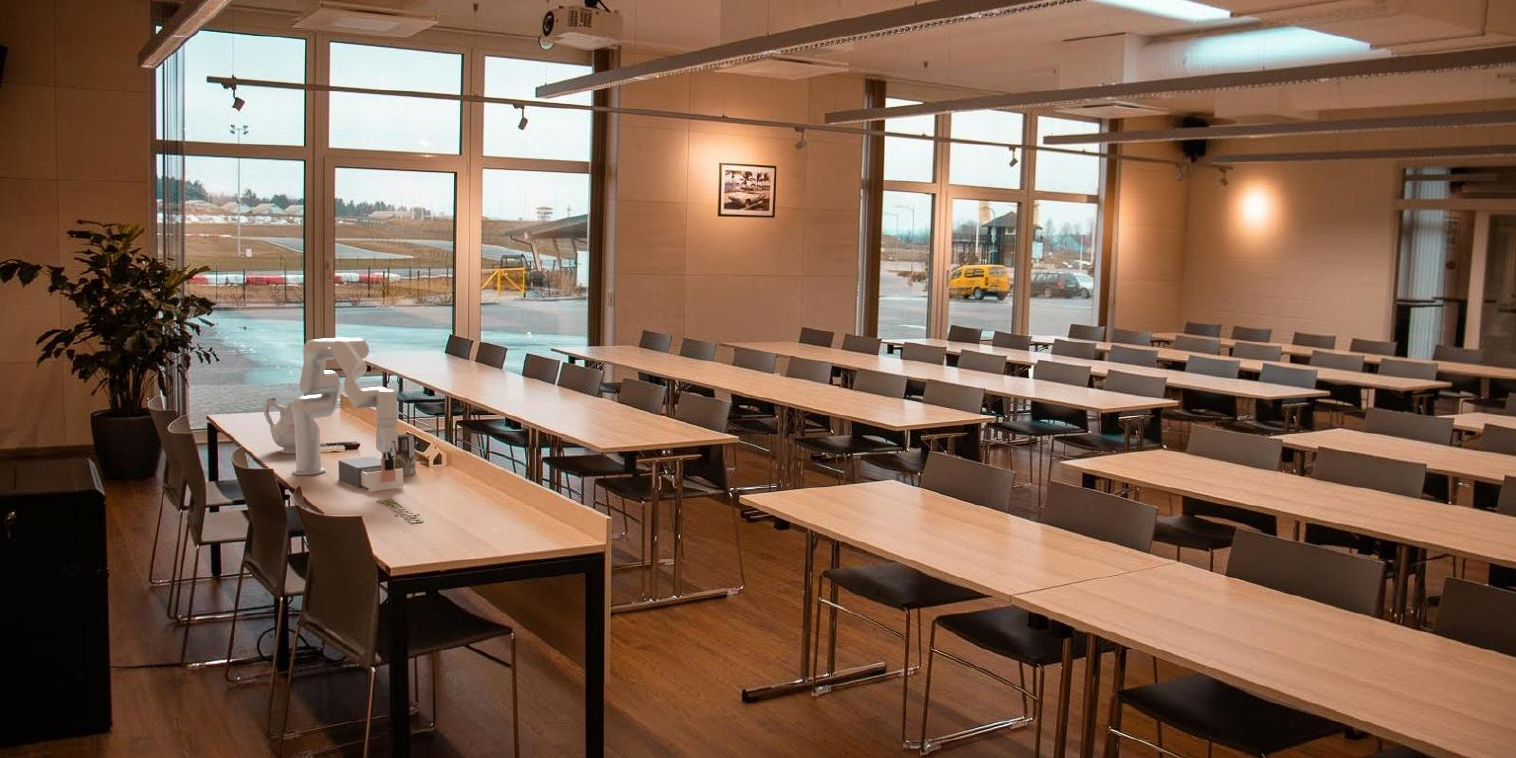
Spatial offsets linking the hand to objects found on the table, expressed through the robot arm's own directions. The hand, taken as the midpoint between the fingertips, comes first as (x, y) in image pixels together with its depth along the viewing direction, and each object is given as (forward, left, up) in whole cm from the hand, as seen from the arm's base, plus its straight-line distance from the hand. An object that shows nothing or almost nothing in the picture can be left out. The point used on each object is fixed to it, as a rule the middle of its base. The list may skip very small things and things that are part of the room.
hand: (388, 469), depth 458 cm
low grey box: (-22, 0, -9) cm, 23 cm away
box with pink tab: (-10, 0, -8) cm, 13 cm away
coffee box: (-28, +18, -9) cm, 34 cm away
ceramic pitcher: (-102, 0, -9) cm, 102 cm away
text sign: (+32, -10, -9) cm, 35 cm away
